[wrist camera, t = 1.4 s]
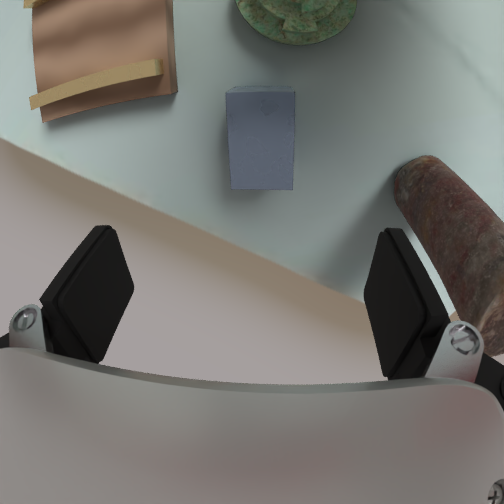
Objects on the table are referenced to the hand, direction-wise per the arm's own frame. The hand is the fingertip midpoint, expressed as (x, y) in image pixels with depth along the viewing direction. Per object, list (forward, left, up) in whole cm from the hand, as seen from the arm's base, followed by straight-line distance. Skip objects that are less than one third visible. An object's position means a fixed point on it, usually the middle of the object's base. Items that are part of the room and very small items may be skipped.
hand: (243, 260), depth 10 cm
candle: (+5, +17, -20) cm, 27 cm away
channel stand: (-13, -16, -20) cm, 29 cm away
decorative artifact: (-13, +3, -20) cm, 25 cm away
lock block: (0, 0, -20) cm, 20 cm away
